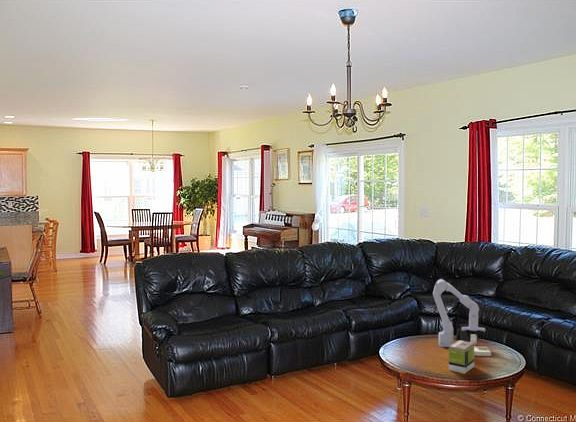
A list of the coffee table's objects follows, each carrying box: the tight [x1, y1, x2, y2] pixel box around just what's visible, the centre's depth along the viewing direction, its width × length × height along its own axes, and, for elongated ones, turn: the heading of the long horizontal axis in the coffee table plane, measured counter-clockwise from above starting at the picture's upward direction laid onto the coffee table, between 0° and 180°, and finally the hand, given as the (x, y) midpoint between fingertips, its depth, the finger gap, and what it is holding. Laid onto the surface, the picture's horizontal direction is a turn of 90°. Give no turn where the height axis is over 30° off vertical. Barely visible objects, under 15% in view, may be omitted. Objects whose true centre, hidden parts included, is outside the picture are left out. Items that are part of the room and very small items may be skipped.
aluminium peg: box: [470, 333, 478, 346], centre depth 355 cm, size 4×4×6 cm
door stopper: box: [455, 323, 469, 342], centre depth 367 cm, size 9×6×12 cm, turn 14°
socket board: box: [474, 345, 492, 357], centre depth 343 cm, size 16×11×3 cm
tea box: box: [448, 340, 475, 374], centre depth 315 cm, size 15×10×15 cm
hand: (472, 341), depth 355 cm, fingers closed on aluminium peg, 4 cm apart
